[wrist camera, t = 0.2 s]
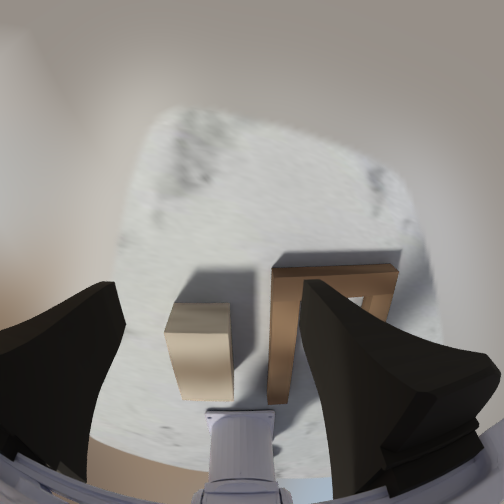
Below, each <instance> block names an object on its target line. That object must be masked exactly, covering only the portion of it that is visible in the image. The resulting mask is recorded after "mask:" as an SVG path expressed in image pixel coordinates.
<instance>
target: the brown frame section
mask: <svg viewBox="0 0 504 504" xmlns="http://www.w3.org/2000/svg"><path fill="white" fill-rule="evenodd" d="M398 274H399V271H398V270H397V269H396V268H395V267H394V266H393V265H391V264H371V265H347V266H321V267H291V268H272V273H271V307H270V336H269V360H268V382H267V400H268V405H275V404H287V403H288V396H289V389H290V382H291V375H292V368H293V360H294V352H295V344H296V335H297V326H298V316H299V307H300V301H302V292H303V281H304V280H307V279H321V280H322V281H324V282H325V283H327V284H328V285H330V286H331V287H332V288H334V289H335V290H337V291H338V292H339V293H341V294H342V295H343V296H345V297H346V298H350V297H362V296H364V298H363V302H362V307H361V308H362V309H364V310H365V311H367V312H369V313H370V314H372V315H374V316H375V317H377V318H379V319H380V320H382V321H384V322H386V319H387V315H388V312H389V308H390V305H391V301H392V298H393V294H394V290H395V286H396V282H397V278H398Z"/></svg>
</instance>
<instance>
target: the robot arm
mask: <svg viewBox="0 0 504 504" xmlns="http://www.w3.org/2000/svg"><path fill="white" fill-rule="evenodd" d="M125 326H126V322H125V319H124V315H123V312H122V309H121V305H120V301H119V298H118V294H117V290H116V286H115V282H105V281H102V282H99V283H96V284H94V285H92V286H90V287H88V288H86V289H85V290H82V291H81V292H79V293H77V294H75V295H74V296H72V297H70V298H68V299H67V300H65V301H64V302H62V303H60V304H58V305H56V306H54V307H52V308H51V309H49V310H47V311H45V312H43V313H41V314H39V315H38V316H35V317H33V318H32V319H29V320H27V321H25V322H22V323H20V324H18V325H15V326H12V327H9V328H6V329H4V330H1V331H0V504H69V503H67V502H66V501H64V500H62V499H60V498H58V497H56V496H54V495H53V494H52V492H51V491H53V492H55V493H57V494H59V495H61V496H63V497H66V498H68V499H70V500H72V501H75V502H77V503H80V504H163V503H157V502H151V501H147V500H142V499H137V498H133V497H129V496H125V495H121V494H117V493H114V492H110V491H107V490H104V489H100V488H97V487H95V486H91V485H89V484H86V483H87V474H86V472H87V451H88V442H89V434H90V429H91V423H92V418H93V414H94V410H95V406H96V402H97V398H98V395H99V392H100V389H101V386H102V384H103V382H104V380H105V377H106V375H107V373H108V370H109V368H110V366H111V364H112V362H113V359H114V357H115V355H116V353H117V351H118V348H119V346H120V343H121V340H122V337H123V334H124V330H125ZM299 327H300V332H301V338H302V343H303V348H304V351H305V354H306V357H307V360H308V363H309V366H310V369H311V372H312V375H313V378H314V381H315V384H316V387H317V390H318V393H319V397H320V401H321V405H322V411H323V416H324V421H325V427H326V434H327V440H328V447H329V455H330V464H331V474H332V486H333V500H330V501H325V502H319V503H313V504H500V503H501V502H502V501H503V500H504V419H502V420H501V421H499V422H498V423H496V424H495V425H494V426H492V427H490V428H489V429H488V430H486V431H485V432H484V433H482V434H481V435H480V436H479V437H478V435H477V433H476V431H475V430H476V429H477V428H478V427H479V422H478V421H477V419H476V416H477V414H478V413H479V412H480V411H481V409H482V408H483V407H484V406H485V404H486V403H487V402H488V401H489V399H490V398H491V396H492V395H493V393H494V392H495V390H496V389H497V387H498V385H499V382H500V377H501V372H500V371H499V369H498V368H497V367H496V365H495V364H494V363H493V362H492V360H491V359H490V358H489V357H488V355H486V354H484V353H478V352H471V351H466V350H460V349H456V348H452V347H448V346H444V345H440V344H437V343H434V342H431V341H428V340H425V339H422V338H420V337H417V336H414V335H412V334H409V333H407V332H405V331H402V330H400V329H398V328H396V327H394V326H392V325H390V324H388V323H386V322H384V321H382V320H380V319H379V318H377V317H375V316H374V315H372V314H370V313H369V312H367V311H365V310H364V309H362V308H361V307H359V306H358V305H356V304H355V303H353V302H352V301H350V300H349V299H348V298H346V297H345V296H343V295H342V294H341V293H339V292H338V291H337V290H335V289H334V288H332V287H331V286H330V285H328V284H327V283H325V282H324V281H322V280H321V279H307V280H304V281H303V292H302V302H301V312H300V321H299ZM205 418H206V422H207V426H208V429H209V433H210V436H211V445H210V463H209V482H208V483H205V488H204V489H199V490H198V491H197V492H196V493H195V494H194V495H193V497H192V501H191V504H293V501H292V496H291V493H290V492H289V491H288V490H286V489H285V488H278V482H276V479H275V469H274V459H273V449H272V438H273V429H274V420H275V411H273V410H266V411H207V412H205Z"/></svg>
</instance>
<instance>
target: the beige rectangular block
mask: <svg viewBox="0 0 504 504" xmlns="http://www.w3.org/2000/svg"><path fill="white" fill-rule="evenodd" d="M164 335H165V339H166V343H167V347H168V351H169V355H170V359H171V362H172V366H173V370H174V373H175V377H176V380H177V383H178V387H179V390H180V393H181V396H182V400H193V401H234V366H233V351H232V336H231V320H230V303H174V304H173V307H172V310H171V313H170V316H169V319H168V322H167V325H166V328H165V331H164Z"/></svg>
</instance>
